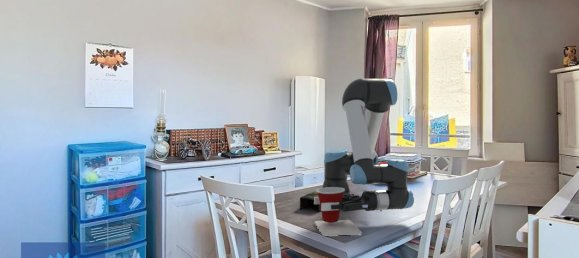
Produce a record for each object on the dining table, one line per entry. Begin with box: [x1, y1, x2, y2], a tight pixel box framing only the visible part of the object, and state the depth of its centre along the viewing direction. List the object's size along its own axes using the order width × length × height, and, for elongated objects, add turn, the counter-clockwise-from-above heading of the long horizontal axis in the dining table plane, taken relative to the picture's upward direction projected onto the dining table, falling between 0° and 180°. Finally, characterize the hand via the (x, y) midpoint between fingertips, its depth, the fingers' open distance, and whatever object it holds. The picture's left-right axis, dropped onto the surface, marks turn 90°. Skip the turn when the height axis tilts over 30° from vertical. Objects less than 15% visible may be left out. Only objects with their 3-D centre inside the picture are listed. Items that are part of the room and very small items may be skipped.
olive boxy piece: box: [299, 190, 321, 212], centre depth 159 cm, size 20×10×6 cm, turn 151°
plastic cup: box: [315, 187, 345, 223], centre depth 130 cm, size 11×11×12 cm
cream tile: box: [314, 219, 363, 237], centre depth 127 cm, size 14×14×1 cm
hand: (318, 203), depth 129 cm, fingers closed on plastic cup, 8 cm apart
